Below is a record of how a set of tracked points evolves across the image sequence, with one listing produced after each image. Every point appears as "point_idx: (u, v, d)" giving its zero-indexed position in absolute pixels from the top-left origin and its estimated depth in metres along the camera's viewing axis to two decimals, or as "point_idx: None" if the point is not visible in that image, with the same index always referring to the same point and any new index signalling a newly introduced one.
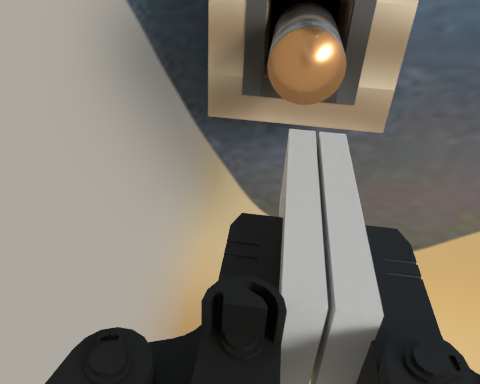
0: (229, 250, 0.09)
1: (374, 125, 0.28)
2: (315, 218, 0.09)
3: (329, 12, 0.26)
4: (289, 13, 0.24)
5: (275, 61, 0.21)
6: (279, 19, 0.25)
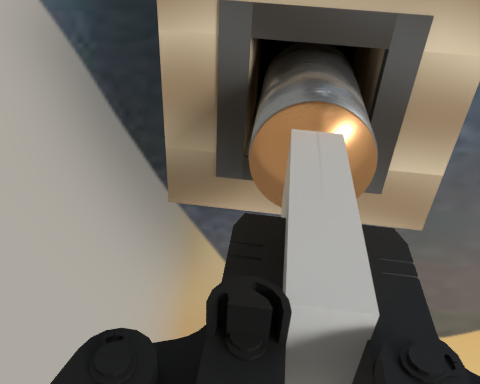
0: (232, 250, 0.09)
1: (409, 220, 0.19)
2: (319, 218, 0.09)
3: (344, 56, 0.17)
4: (285, 61, 0.16)
5: (261, 152, 0.13)
6: (270, 66, 0.17)
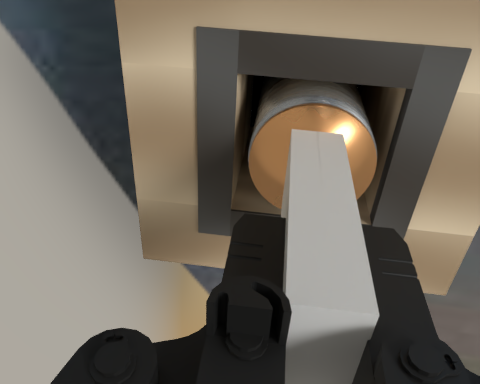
0: (232, 250, 0.09)
1: (431, 284, 0.16)
2: (319, 218, 0.08)
3: None
4: None
5: (260, 154, 0.13)
6: None
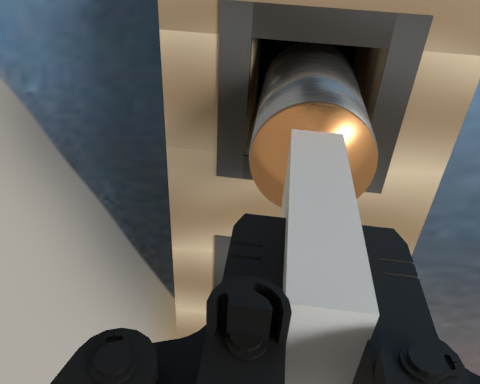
0: (232, 250, 0.09)
1: None
2: (319, 218, 0.08)
3: None
4: None
5: None
6: None
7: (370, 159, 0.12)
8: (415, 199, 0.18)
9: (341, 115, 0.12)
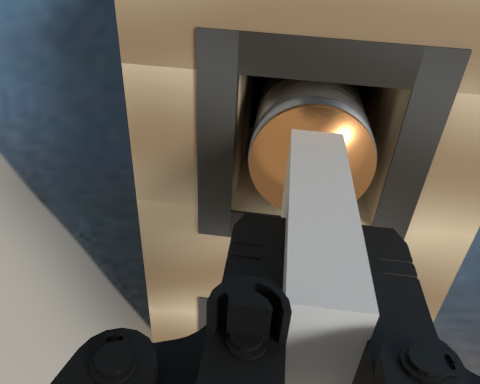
0: (232, 250, 0.09)
1: None
2: (318, 218, 0.08)
3: None
4: None
5: None
6: None
7: (369, 161, 0.13)
8: (439, 263, 0.15)
9: (340, 117, 0.12)
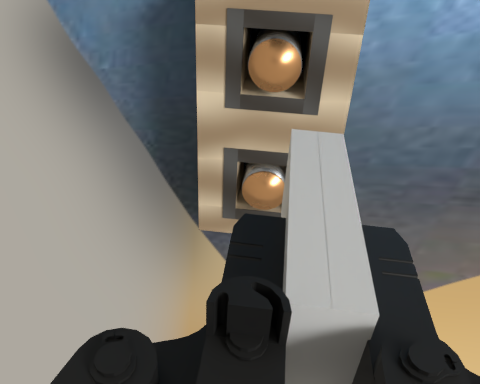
0: (232, 250, 0.09)
1: None
2: (319, 218, 0.09)
3: None
4: None
5: (246, 187, 0.36)
6: None
7: (298, 63, 0.30)
8: (336, 118, 0.33)
9: (284, 43, 0.30)
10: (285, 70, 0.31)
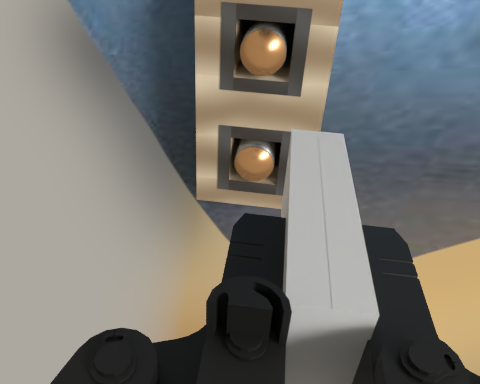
0: (232, 250, 0.09)
1: None
2: (318, 218, 0.08)
3: None
4: None
5: (238, 161, 0.41)
6: None
7: (283, 50, 0.35)
8: (317, 99, 0.38)
9: (271, 33, 0.34)
10: (272, 56, 0.35)
